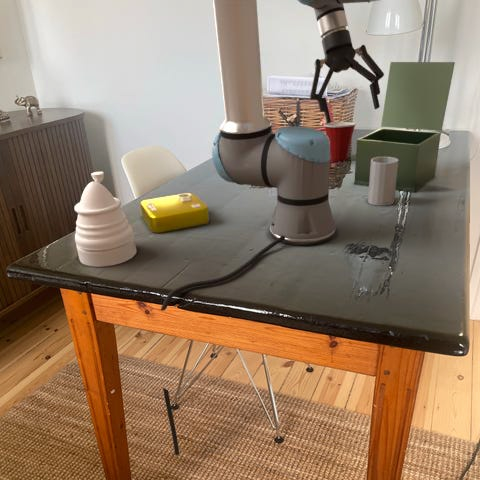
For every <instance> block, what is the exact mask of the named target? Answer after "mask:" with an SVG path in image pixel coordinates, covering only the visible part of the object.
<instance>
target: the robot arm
mask: <svg viewBox="0 0 480 480" xmlns="http://www.w3.org/2000/svg"><path fill="white" fill-rule="evenodd" d="M379 1H381V0H297V2H299V3H300V4H301V5H304V6H308V7H310V8H312V9H313V11H314V15H315V19H316V23H317V27H318V32H319V37H320V38H321V46H322V49H323V54H324V58H322V59H320V58H316V59H315V61H314V63H313V64H314V75H313V80H312V83H311V84H312V85H311V90H310V94H309V100H310V101H312V100H316V102H317V104H318V109H319V111H320V113H324V117H325V121H326V124H328V123H332V120H331V119H332V118H331V115H330V111H329V107H328V102H327V98H326V96H324V94H325V92H326V89H327V87H328V85H329V83H330V81H331V78H332V76H333V74H334V73H335V74H338V73H341V72H342V71H345V72H346V71H349V69H352V70H353V71H355V72H357V73H358V74H359V75H360V76H362V77H364V78H365V79H366V80H368V81H369V82H370V83H369V91H370V93H371V99H372V103H373V108H374V110H377V109H379V108H381V107H380V102H379V101H380V100H379V95H380V94H381V89H380V84H379V81H380V80H382V78H383V77H384V76H385V73H384V71H383V70H382V69H381V68H380V67H379V65H378V64H377V62H375V60H374V59H373V57H372V56H371V55H370V54H369V52H368V50H367V47H366V45H365V44H362V45H361V46H360V47H357V48H354V46H353V43H352V42H353V41H352V38H351V37H352V36H351V32H350V30H349V24H348V20H347V15H346V10H345V6H344V4H355V3H356V4H357V3H358V4H359V3H360V4H361V3H368V4H370V3H372V2H379ZM212 5H213V14H214V24H215V33H216V42H217V51H218V59H219V60H218V62H219V71H220V79H221V88H222V97H223V107H224V116H225V118H224V120H223V122H222V123H221V125H219V132H218V133H217V134H216V135H215V137H214V140H213V143H212V144H213V146H212V148H211V149H212V150H211V155H212V163H213V166H214V169H215V171H216V172H217V175H218V176H219V177H220V178H221V179H223V180H224V181H225V182H228V183H232V184H236V185H239V186H242V185H243V186H244V185H245V186H256V187H265V188H276V194H277V195H276V198H277V199H276V205H275V208H274V212H273V215H272V219H271V222H270V227H269V233H270V234H269V235H270V237H271V238H272V239H273V240H274V241H271V242H270V243H269V244H268V245H266V246H265V247H263V248H262V249H261V250H260V251H258V252H257V253H256V254H255V255H253V256H252V257H251V258H250V259H249V260H248V261H246V262H245V263H243V264H242V265H240V266H239V267H238V268H236V269H235V270H233V271H232V272H230V273H228V274H226V275H223V276H220V277H217V278H213V279H206V280H199V281H193V282H190V283H187V284H185V285H182V286H179V287H177V288H174V289H173V290H171V291H170V292H168V293H167V295H166V296H165V299H164V301H163V303H162V305H161V307H160V311H162V312H163V311H166V310H167V308H168V305H169V303H170V301H172V298H174V296H176V295H178V294H179V293H182V292H184V291H186V290H189V289H193V288H196V287H201V286H208V285H209V286H210V285H215V284H219V283H223V282H225V281H227V280H230V279H232V278H233V277H235V276H237V275H239V274H240V273H241V272H243V271H244V270H246V269H247V268H249V267H250V266H251V265H253V264H254V263H255V262H256V261H257V260H258V259H259V258H260V257H262V256H263V255H265V254H266V253H267V252H268V251H270V250H271V249H273V248H274V247H275V246H277V245H278V244H279V243H281V244H285V245H291V246H312V245H318V244H321V243H326V242H328V241H330V240H332V239H333V238H334V237H335V236H336V222H335V220H334V216H333V212H332V209H331V206H330V202H329V196H330V195H329V194H330V193H329V192H330V173H331V172H330V170H331V160H330V159H331V154H330V140H329V138H328V136H327V134H326V132H323V131H322V130H319V129H317V128H312V127H308V126H302V125H301V126H300V125H297V126H293V125H287V126H283V127H282V126H281V127H280V128H278V129H277V130H276V132H275V133H273V127H272V121H271V120H270V119H269V118H268V117H267V116H266V115H265V107H264V94H263V80H262V79H263V75H262V61H261V47H260V29H259V15H258V0H212ZM356 55H357V56H358V57H361V60H363V62H364V64H365V65H366V66H367V67H368V68H369V69H370V70H368V69H367V68H366V67H364V66H363V65H362V64H360V62H359V61H358V60H356V59H355V57H356ZM324 65H325V66H326V67H328V71H327V74H326V76H325V78H324V80H323V82H322V85H321V86H320V88H319V91H318V93H317V90H318V85H319V80H320V74H321V69H323V68H324ZM323 96H324V97H323ZM162 390H163V396H164V401H165V407H166V412H167V417H168V421H169V427H170V430H171V435H172V436H171V437H172V443H173V449H174V455H175V456H179V455H180V448H179V442H178V434H177V429H176V425H175V420H174V415H173V410H172V404H171V398H170V393H169V390H168V389H167V388H165V387H162Z"/></svg>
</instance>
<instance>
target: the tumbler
mask: <svg viewBox="0 0 480 480" xmlns="http://www.w3.org/2000/svg"><path fill="white" fill-rule="evenodd" d="M398 162H399V160H398V159H397V158H394V157H376V158H373V159H371V166H370V179H369V186H368V193H367V195H368V196H367V202H368V203H369V204H370V205H373V206H379V207H380V206H382V207H384V206H385V207H386V206H391V205H393V204H394V203H395V199H396V191H397V190H396V181H397V171H398Z"/></svg>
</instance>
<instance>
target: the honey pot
mask: <svg viewBox="0 0 480 480" xmlns="http://www.w3.org/2000/svg"><path fill="white" fill-rule="evenodd" d="M104 174H105V173H104V171H94V172H92V173H91V174H90V175H91V178H92V179H93V181H91V182H89V183H88V184H87V185H86V186H85V187H84V190H83V192H82V194H81V197H80V200H79V202H77V203H76V204H75V205H74V212H76V213H77V219H76V221H75V225H76V227H75V233H74V242H75V245H76V251H77V254H78V259H79V261H80V263H81V264H82V265H85V266H88V267H96V268H97V267H98V268H100V267H110V266H117V265H119V264H122V263H125V262H127V261H129V260H131V259H133V258H134V256H135V255H136V254H137V252H138V251H137V245H136V240H135V235H134V230H133V227H132V225H131V224H130V223H129V219H127V217H126V214H125V213H124V212H123V210H122V208H121V206H122V201H121V200H120V198H118V197H114V196H113V194H112V193H111V192H110V191H109V190H108V188H106V186H105V185H103V184H102V183H101V182H102V181H103V180H104V176H105V175H104Z"/></svg>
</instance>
